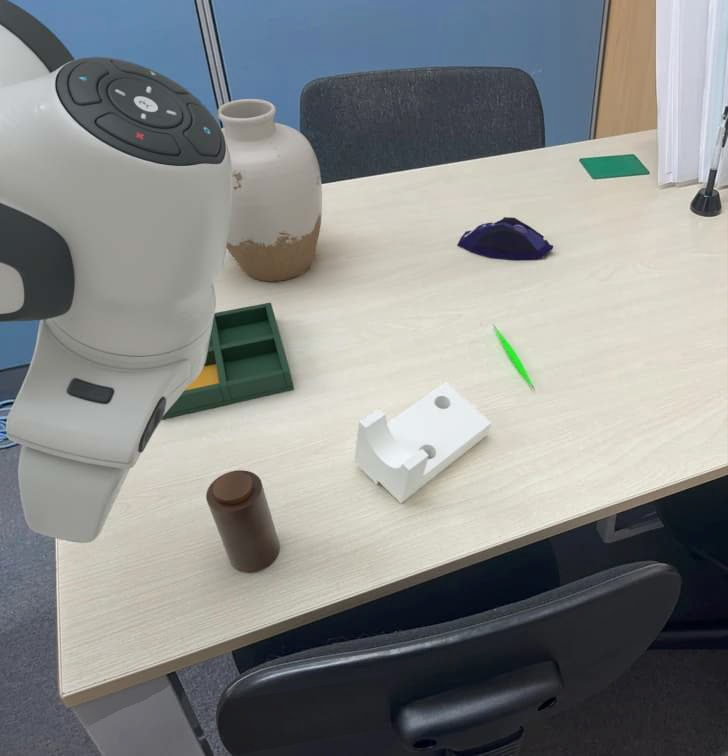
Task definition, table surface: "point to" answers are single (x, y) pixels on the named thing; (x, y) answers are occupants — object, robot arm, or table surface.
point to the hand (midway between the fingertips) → (124, 450)
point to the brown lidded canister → (243, 520)
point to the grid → (238, 362)
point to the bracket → (418, 440)
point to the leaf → (514, 357)
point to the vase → (270, 192)
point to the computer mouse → (506, 241)
